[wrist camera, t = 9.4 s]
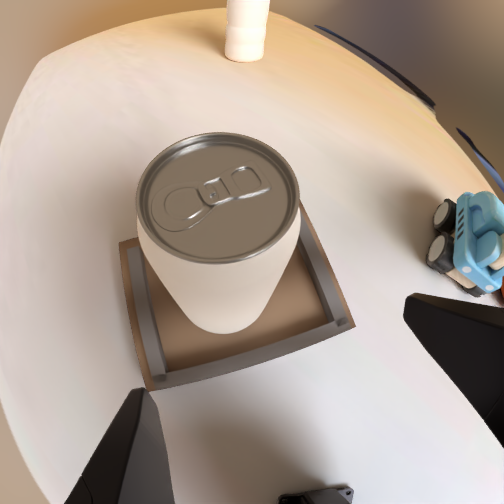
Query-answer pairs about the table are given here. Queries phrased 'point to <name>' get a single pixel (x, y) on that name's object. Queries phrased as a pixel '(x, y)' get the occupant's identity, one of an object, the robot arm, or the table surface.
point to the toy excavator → (470, 242)
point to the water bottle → (246, 29)
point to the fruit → (502, 286)
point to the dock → (238, 343)
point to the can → (219, 226)
